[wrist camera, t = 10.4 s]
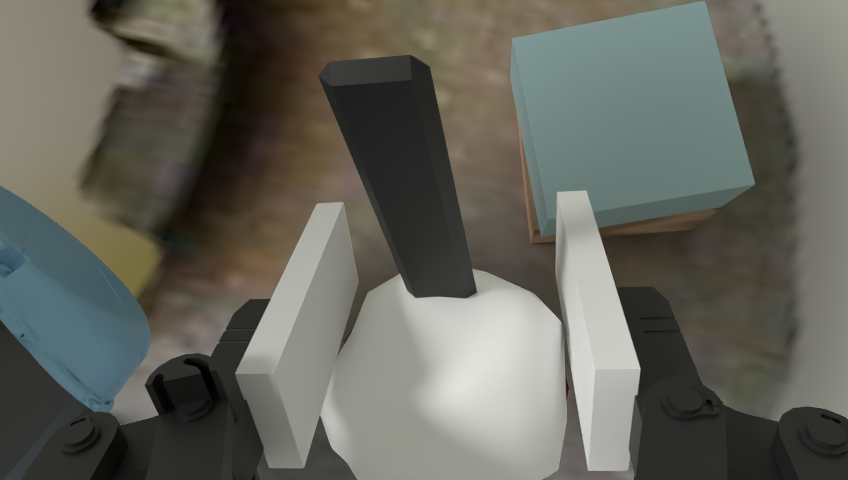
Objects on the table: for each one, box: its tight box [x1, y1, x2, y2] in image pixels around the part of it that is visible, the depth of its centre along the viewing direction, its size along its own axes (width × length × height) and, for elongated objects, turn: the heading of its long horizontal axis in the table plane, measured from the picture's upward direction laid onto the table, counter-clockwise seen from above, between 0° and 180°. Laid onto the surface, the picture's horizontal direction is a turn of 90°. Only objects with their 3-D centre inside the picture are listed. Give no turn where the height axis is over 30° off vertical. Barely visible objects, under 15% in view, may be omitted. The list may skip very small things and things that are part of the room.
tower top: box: [510, 1, 755, 237], centre depth 36 cm, size 11×11×5 cm
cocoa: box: [319, 55, 569, 480], centre depth 14 cm, size 10×6×12 cm, turn 158°
